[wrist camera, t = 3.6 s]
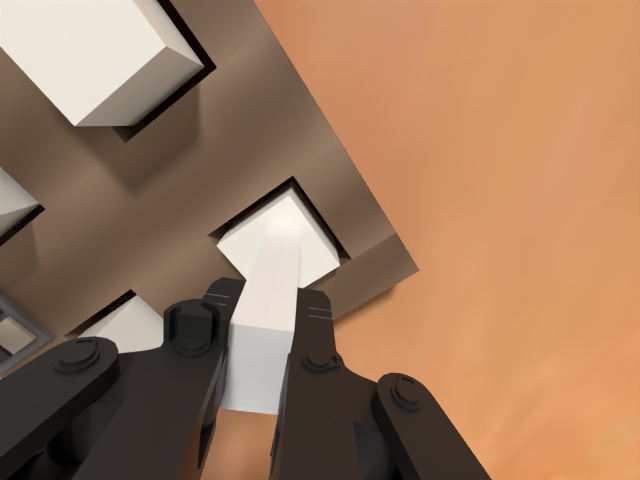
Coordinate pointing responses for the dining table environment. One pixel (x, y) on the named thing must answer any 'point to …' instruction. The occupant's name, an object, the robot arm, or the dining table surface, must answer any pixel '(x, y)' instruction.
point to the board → (174, 190)
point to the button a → (13, 202)
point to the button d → (285, 216)
